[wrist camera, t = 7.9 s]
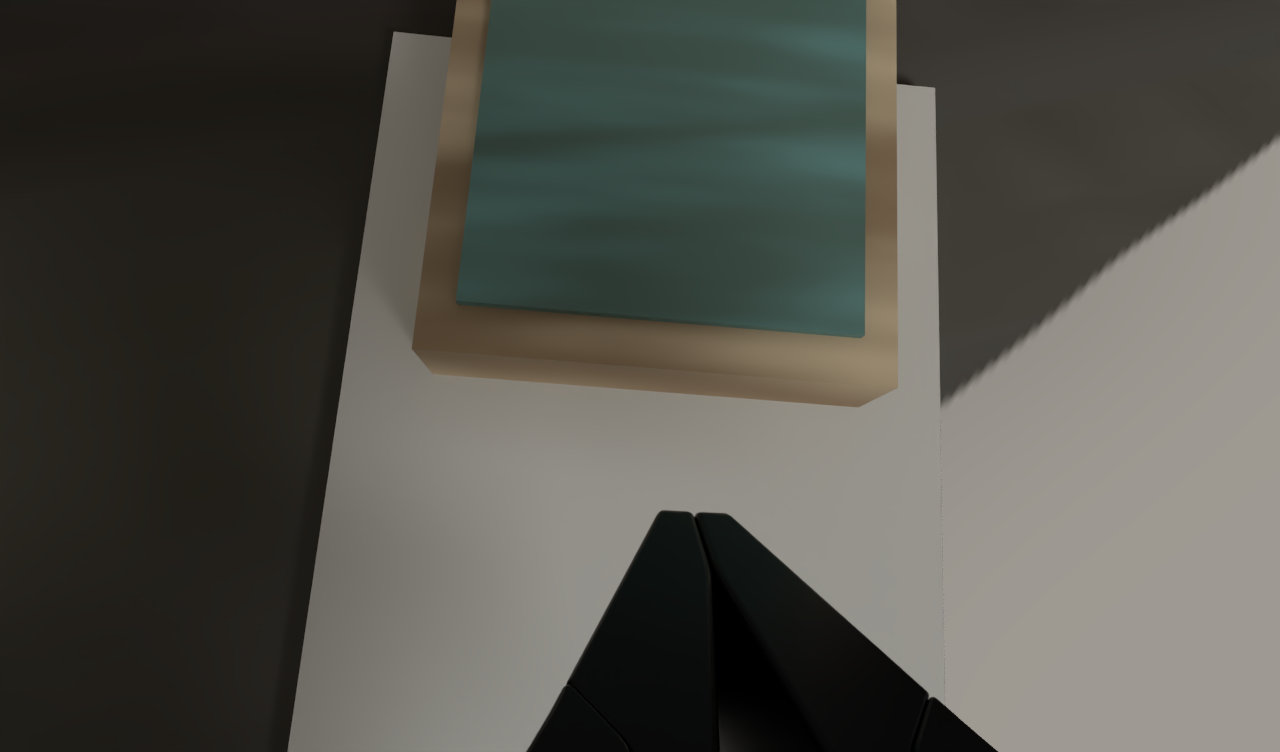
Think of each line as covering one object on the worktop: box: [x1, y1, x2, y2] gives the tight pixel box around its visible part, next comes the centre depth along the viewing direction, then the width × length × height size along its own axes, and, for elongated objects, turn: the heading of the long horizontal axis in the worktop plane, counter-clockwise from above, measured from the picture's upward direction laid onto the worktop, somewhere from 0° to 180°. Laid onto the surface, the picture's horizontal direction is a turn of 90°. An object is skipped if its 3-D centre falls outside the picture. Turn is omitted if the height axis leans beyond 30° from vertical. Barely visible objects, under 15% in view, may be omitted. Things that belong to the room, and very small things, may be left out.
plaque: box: [412, 0, 898, 407], centre depth 18 cm, size 3×10×10 cm
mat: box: [288, 32, 945, 752], centre depth 19 cm, size 19×14×1 cm
